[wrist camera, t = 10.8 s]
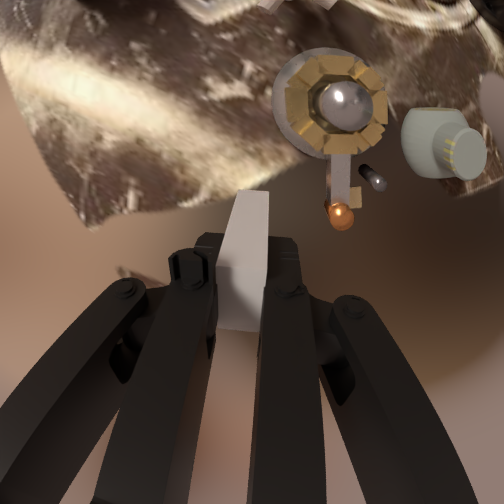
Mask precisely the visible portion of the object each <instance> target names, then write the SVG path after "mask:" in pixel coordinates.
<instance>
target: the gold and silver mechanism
mask: <svg viewBox="0 0 504 504" xmlns="http://www.w3.org/2000/svg"><path fill="white" fill-rule="evenodd" d="M317 55H337V56H351V57H354V61H357V60H361V61H362V62H363V63H364V64H365V65H366V66H367V67H370V66H369V65H368V64H367V63H366V62H365V61H363V60H362V59H361V58H359V57H357V56H356V55H354V54H352V53H349V52H347V51H344V50H340V49H336V48H315V49H311V50H307V51H305V52H302V53H300V54H298V55H296V56H295V57H293V58H292V59H291V60H289V61H288V62H287V63H286V64H285V65H284V66H283V68H282V69H281V70H280V72H279V74H278V75H277V77H276V80H275V82H274V85H273V89H272V110H273V114H274V118H275V120H276V123H277V125H278V127H279V128H280V130H281V132H282V133H283V135H284V136H285V137H286V138H287V139H288V140H289V141H290V142H291V143H292V144H293V145H294V146H295V147H296V148H298V149H299V150H301V151H302V152H304V153H306V154H308V155H310V156H313V157H316V158H320V159H325V160H326V154H323V153H322V152H321V150H319V151H318V152H317V151H316V150H315V149H314V148H313V147H312V146H311V145H310V144H309V143H308V142H306V141H305V140H304V139H303V138H302V137H301V136H300V135H299V134H297V133H296V132H295V131H294V130H293V129H292V128H291V127H290V126H289V125H290V124H291V123H292V122H288V121H287V120H286V107H285V96H284V88H285V87H290V86H289V85H288V84H287V83H286V82H287V81H288V80H289V79H290V78H291V77H292V76H293V75H294V74H295V73H296V72H297V71H298V70H299V69H300V68H301V67H302V66H303V65H304V64H305V63H306V62H307V61H308V60H309V59H310V58H311V57H312V58H313V59H314V57H316V56H317ZM380 81H381V80H380ZM380 90H382V91H385V89H384V86H383V87H382V88H381V89H380ZM307 94H308V108H309V117H310V118H311V119H312V120H313V121H314V122H315V123H317V124H318V125H319V126H320V127H321V128H322V129H323V130H324V131H354V130H359V129H361V128H363V127H364V126H365V125H367V124H368V122H369V121H370V119H371V117H372V115H373V102H372V99H371V96H370V95H369V93H368V92H367V91H366V90H365V89H364V88H363V87H362V86H361V85H359V84H357V83H354V82H349V81H347V80H346V79H345V78H344V77H335V76H322V77H321V78H320V79H319V80H318V81H317V82H316V83H315V84H314V85H313V86H312V87H311V88H310V89H309V90H308V91H307ZM387 108H388V102H387ZM381 125H382V126H383V127H384V126H385V124H381ZM370 147H371V146H369V147H368V148H370ZM368 148H367V149H368ZM367 149H366V150H367ZM366 150H365V151H366ZM361 153H362V151H361V150H359V149H358V150H357V154H351V157H354V156H357V155H359V154H361ZM358 171H359V174H360V175H361V176H362V177H363V178H364V179H366V181H367V182H368V183H369V184H370V185H371V186H372V187H373V188H374V189H375V190H376V191H378V192H382V191H384V190H385V189H386V187H387V182H386V180H385V179H384V178H382V177H381V176H380V175H379V174H378V173H376V172H375V171H374V170H373V169H372V168H370V167H369V166H368V165H366V164H362V165H360V167H359V170H358ZM349 207H350V209H353V208H361V207H362V198H361V186H355V187H350V196H349Z"/></svg>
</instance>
